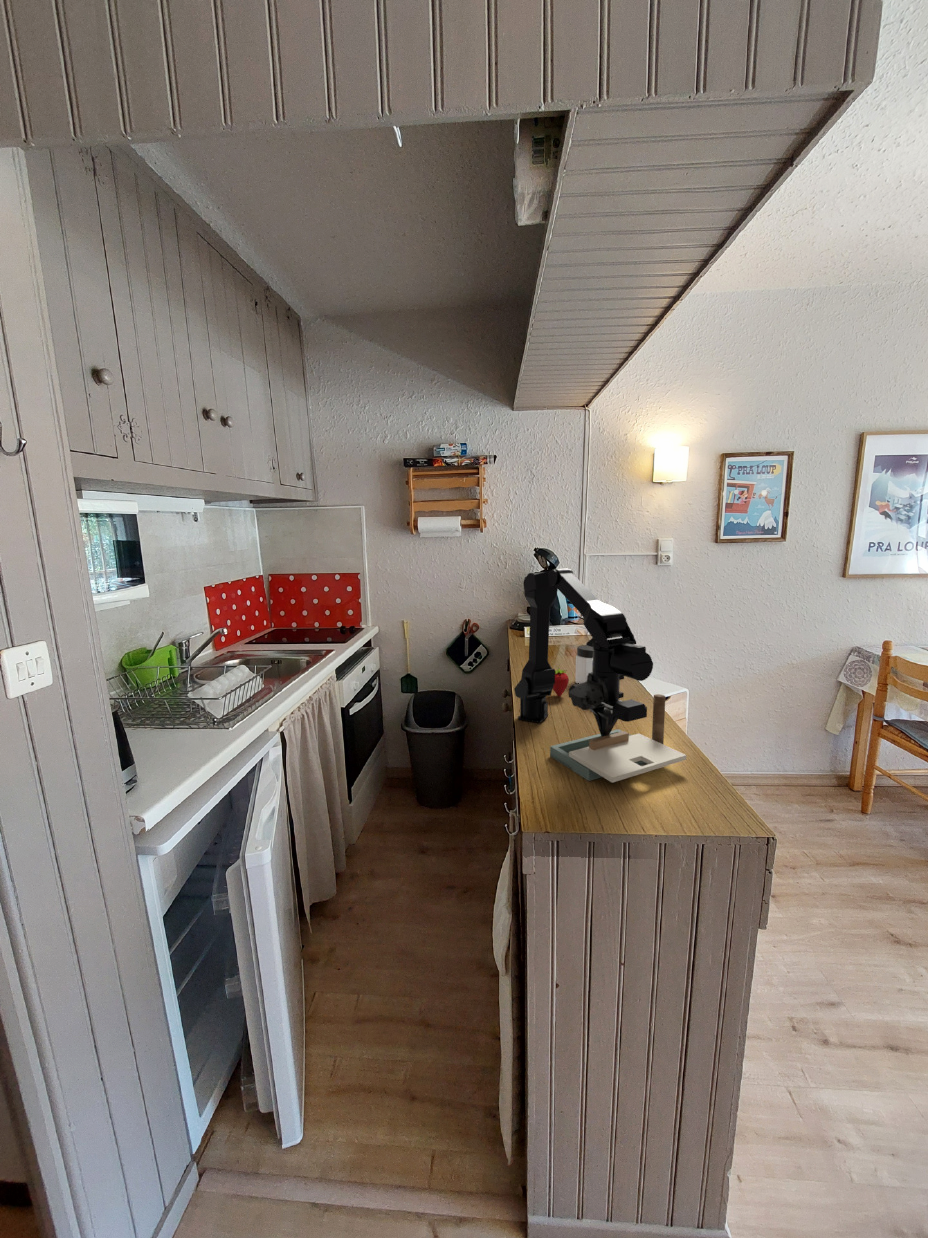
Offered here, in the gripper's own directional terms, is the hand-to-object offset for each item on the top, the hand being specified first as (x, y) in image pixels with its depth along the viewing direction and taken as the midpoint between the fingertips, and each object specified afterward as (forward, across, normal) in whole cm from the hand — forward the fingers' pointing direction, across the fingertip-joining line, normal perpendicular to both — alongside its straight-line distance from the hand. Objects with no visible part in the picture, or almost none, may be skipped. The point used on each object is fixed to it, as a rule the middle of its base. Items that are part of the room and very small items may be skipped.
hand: (604, 737), depth 110 cm
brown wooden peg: (+5, +2, +14) cm, 15 cm away
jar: (+5, -45, +34) cm, 57 cm away
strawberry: (+5, -39, +17) cm, 42 cm away
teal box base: (+5, 0, 0) cm, 5 cm away
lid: (+2, +7, 0) cm, 7 cm away
